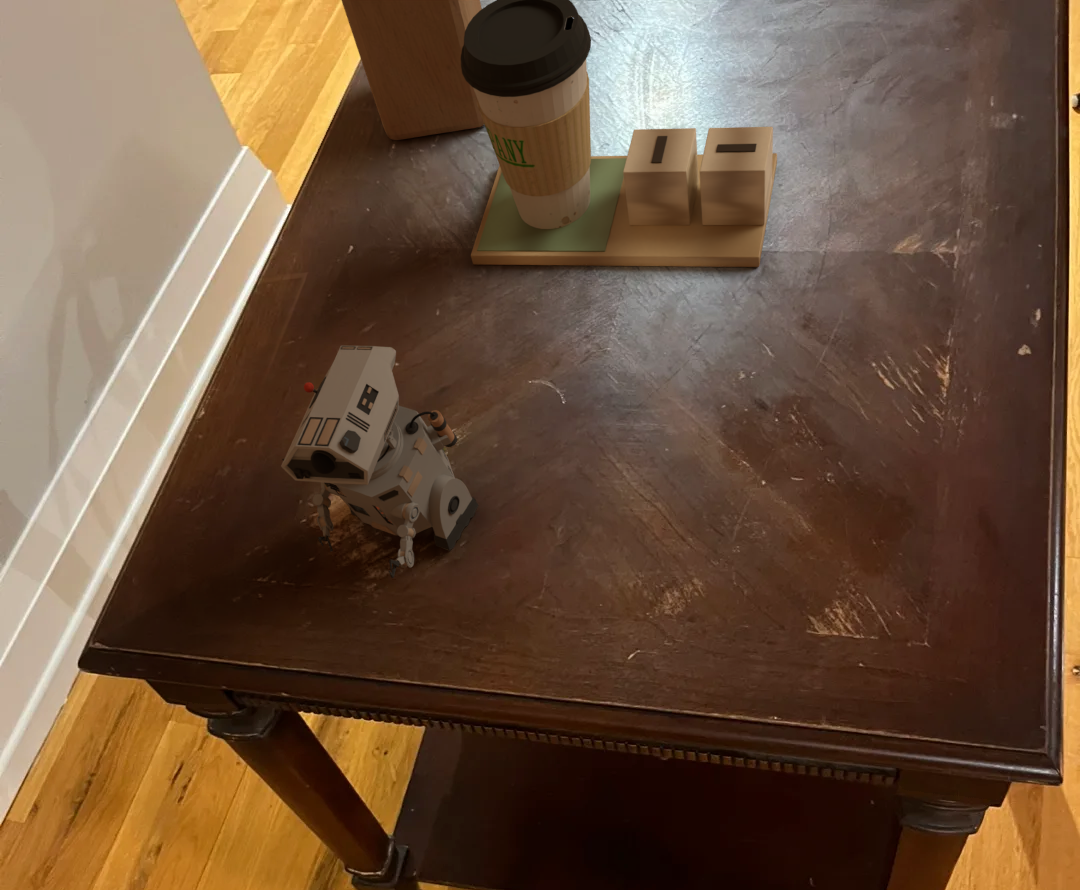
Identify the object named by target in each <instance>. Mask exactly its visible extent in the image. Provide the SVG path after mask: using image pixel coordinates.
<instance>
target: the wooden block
mask: <svg viewBox="0 0 1080 890" xmlns="http://www.w3.org/2000/svg"><path fill="white" fill-rule="evenodd" d="M341 3H342V6H343V9H344V12H345V15H346V19H347V22H348V25H349V27H350V31H351V33H352V36H353V40H354V43H355V46H356V49H357V52H358V55H359V57H360V61H361V64H362V68H363V70H364V72H365V73H364V74H365V76H366V78H367V82H368V85H369V88H370V90H371V94H372V97H373V100H374V103H375V106H376V109H377V113H378V115H379V118H380V121H381V124H382V127H383V130H384V132H385V134H386V136H387V137H388V138H389V139H390V140H393V141H400V140H401V141H402V140H407V139H413V138H418V137H426V136H432V135H437V134H445V133H451V132H457V131H463V130H469V129H470V130H471V129H476V128H481V127H483V126H485V125H484V122H483V119H482V117H481V114H480V111H479V109H478V104H477V97H476V94H475V91H474V88H473V87H472V86H471V85H470V84H469V83H468V82H467V81H466V80H465V78H464V76H463V74H462V69H461V52H462V47H463V45H464V35H465V30H466V28H467V26H468V24H469V22H470V21H471V20H472V18H473V17H474V16H475V15H476V14H477V13H478V12H479V11H480V10H481V9H483V8H482V3H481V0H341Z"/></svg>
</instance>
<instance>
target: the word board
mask: <svg viewBox="0 0 1080 890" xmlns="http://www.w3.org/2000/svg"><path fill="white" fill-rule="evenodd" d="M706 135H707V136H706V139H705V144H704V149H703V153H702V154H701V153H700V154H698V143H697V142H698V141H697V129H696V128H695V127H690V128H689V127H687V128H686V127H683V128H681V127H680V128H648V129H647V128H644V129H643V128H642V129H641V128H640V129H638V128H637V129H636V128H635V129H633V131H632V135H631V140H630V144H629V148H628V152H627V155H591V163H590V204H589V207H588V208H587V210H586V212H585V213H584V214H583V215H582V216H581V217H580V218H579V219H577V220H576V221H574V222H572V223H571V224H569V225H566V226H563V227H560V228H555V229H540V228H535V227H533V226H530V225H528V224H527V223H525V222H524V221H523V219H522V218H521V216H520V214H519V211H518V209H517V206H516V203H515V201H514V198H513V195H512V192H511V190H510V187H509V185H508V184H507V182H506V181H505V178H504V176H503V173H502V170H501V168H500V165H499V164H498V165H499V166H498V169H497V172H496V175H495V178H494V181H493V183H492V187H491V191H490V193H489V197H488V200H487V203H486V206H485V209H484V213H483V216H482V219H481V222H480V225H479V228H478V231H477V234H476V238H475V240H474V243H473V247H472V250H471V253H470V258H471V262H472V265H482V266H483V265H485V266H487V265H489V266H490V265H493V266H494V265H496V266H498V265H499V266H500V265H501V266H502V265H503V266H593V267H594V266H595V267H596V266H597V267H598V266H599V267H601V266H603V267H604V266H606V267H607V266H609V267H616V266H617V267H702V268H703V267H705V268H706V267H708V268H709V267H710V268H711V267H712V268H713V267H717V268H719V267H720V268H721V267H722V268H727V267H728V268H729V267H730V268H759V267H760V265H761V259H762V252H763V247H764V241H765V236H766V229H767V224H768V219H769V218H768V217H769V213H770V207H771V206H770V205H771V200H772V199H771V198H772V194H773V189H774V183H775V177H776V171H777V165H778V153H777V152H774V153H773V151H774V150H773V146H774V127H773V126H739V127H738V126H737V127H733V126H732V127H709V128H708V130H707V133H706Z"/></svg>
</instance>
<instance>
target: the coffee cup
mask: <svg viewBox="0 0 1080 890" xmlns="http://www.w3.org/2000/svg"><path fill="white" fill-rule="evenodd" d="M591 46H592V37H591V34H590V31H589V27H588V25H587V23H586V22H585V20H584V18H583V17H582V16H581V15H580V13H579V12H578V9H577V8H576V6H575V4H574V2H572V0H494V1H492V2H490V3H489V4H487V5H486V6H484V7H483V8H482V9H481V10H480V11H479V12H478V13H477V14H476V15H475V16H474V17H473V18H472V20H471V21H470V22H469V24H468V26H467V28H466V30H465V35H464V45H463V47H462V52H461V69H462V74H463V76H464V78H465V80H466V81H467V82H468V83H469V84H470V85H471V86H472V87H473V88H474V91H475V94H476V97H477V104H478V109H479V111H480V114H481V117H482V119H483V122H484V125H483V126H484V127H485V130H486V132H487V135H488V138H489V142H490V144H491V147H492V149H493V152H494V154H495V156H496V157H495V158H496V160H497V163H498V165H500V168H501V170H502V173H503V176H504V178H505V181H506V182H507V184H508V185H509V187H510V190H511V192H512V195H513V198H514V201H515V203H516V206H517V209H518V211H519V214H520V216H521V218H522V219H523V221H524V222H525V223H527V224H528V225H530V226H533V227H535V228H540V229H555V228H560V227H563V226H566V225H569V224H571V223H572V222H574V221H576V220H577V219H579V218H580V217H581V216H582V215H583V214H584V213H585V212H586V210H587V208H588V207H589V204H590V163H591V156H592V146H591V145H592V144H591V143H592V142H591V141H592V140H591V102H590V100H591V99H590V77H589V74H588V69H587V67H588V66H587V58H588V56H589V54H590V51H591V48H592V47H591Z"/></svg>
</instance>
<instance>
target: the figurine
mask: <svg viewBox="0 0 1080 890" xmlns="http://www.w3.org/2000/svg"><path fill="white" fill-rule="evenodd" d="M396 357H397V350H395V349H394V348H393V347H392V346H379V345H378V346H377V345H340V347H339V349H338V351H337V354H336V356H335V358H334V359H333V362H332V363H331V365H330V367H329V368H328V370H327V372H326V374H325V376H324V377H323V379H322V381H321V382H320V384H319V385H318V387H317V389H315V385H314V383H312V382H309V381H308V382H305V383H304V385H303V389H304V391H305V392H306V393H309V394H310V393H314V394H313V395H312V398H311V400H310V403H309V405H308V406H307V409H306V411H305V413H304V416H303V417H302V420H301V422H300V424H299V427H298V429H297V430H296V433H295V435H294V436H293V439H292V442H291V443H290V446H289V448H288V450H287V453H286V454H285V456H284V458H282V459H281V460H282V463H281V465H280V467H281V468H282V470H284V471H285V473H287V474H288V476H290V477H291V478H292V479H293V480H294V481H296V482H297V481H298V482H310V483H311V482H313V483H320V487H321V489H320V492H319V493H316V494H314V495H313V496H312V503H313V505H314V506H316V512H317V515H318V516H317V517H316V522H317V524H318V527H319V529H320V530H321V532H322V535H323V536H318V537H317V540H318V541H319V543H320V545H321V546H322V547H324V544H323V542H327V545H328V547H329V552H330V553H331V552H334V549H333V547H332V544H331V541H330V538H331V533H330V531H331V532H333V531H334V529H335V528H334V523H333V521H332V519H331V510H330V507H331V505H332V501H331V500H332V499H330V498H329V496H330V494H332V495H335V496H338V497H339V498H340V499H341V500H342V501H343V502H344V503H345V505H346V506H347V507H348V508H349V511H350V514H351V516H354V517H357V518H358V519H359V520H360V521H361V522H362V523H364V524H367V525H370V526H371V527H372V528H374V529H377V530H379V531H383V532H385V533H388V534H391V535H393V536H399V537H400V540H399V546H400V548H399V549H398V551H397V558H396V559H389V561H388V562H389V567H390V570H388V572H389V575H390V578H391V579H394V577H395V574H396V571H397V568H399V567H400V568H402V569H404V568H406V567H408V568H413V566H414V564H415V553H414V551H413V543H414V541H413V539H414V538H415V536H416V534H418V533H422V532H423V531H425V530H427V529H430V528H432V530H433V532H434V534H433V540H434V544H435V547H438V548H441V549H444V550H447V551H451V550H452V549H454V548H455V547H456V542H457V541H459V540H460V539H461V537H462V532H463V531H464V529H465V528H466V527H468V526H469V524H470V521H471V519H472V518H474V517H475V514H476V510H477V509H478V508H479V503H478V502H477V500H476V498H475V497H473V496H472V495H471V493H470V491H469V489H468V487H467V486H466V484H465V483H464V482H463V481H462V480H461V479H459V478H457V477H455V475H454V471H453V468H452V465H451V463H450V460H449V457H448V456H447V454H446V453H445V452H446V450H447V448H452V447H454V446H455V445H456V444H457V442H458V436H457V435H456V433H455V432H454V431H452V429H451V427H450V425H449V424H448V422H447V419H446V418H445V417H444V416H443V414H442V412H441V411H439V410H437V409H433V410H430V411H423V412H422V411H421V412H420V413H419V412H418V411H417V410H415V409H411V408H408V407H406V406H402V405H399V404H400V403H399V401H400V396H399V392H398V388H397V385H396V381H395V377H394V374H393V369H394V366H395V365H396ZM425 415H427V420H428V421H429V423H430V425H429V426H427V424H426V422H425V421H424V420H423V418H422V416H425Z"/></svg>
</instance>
